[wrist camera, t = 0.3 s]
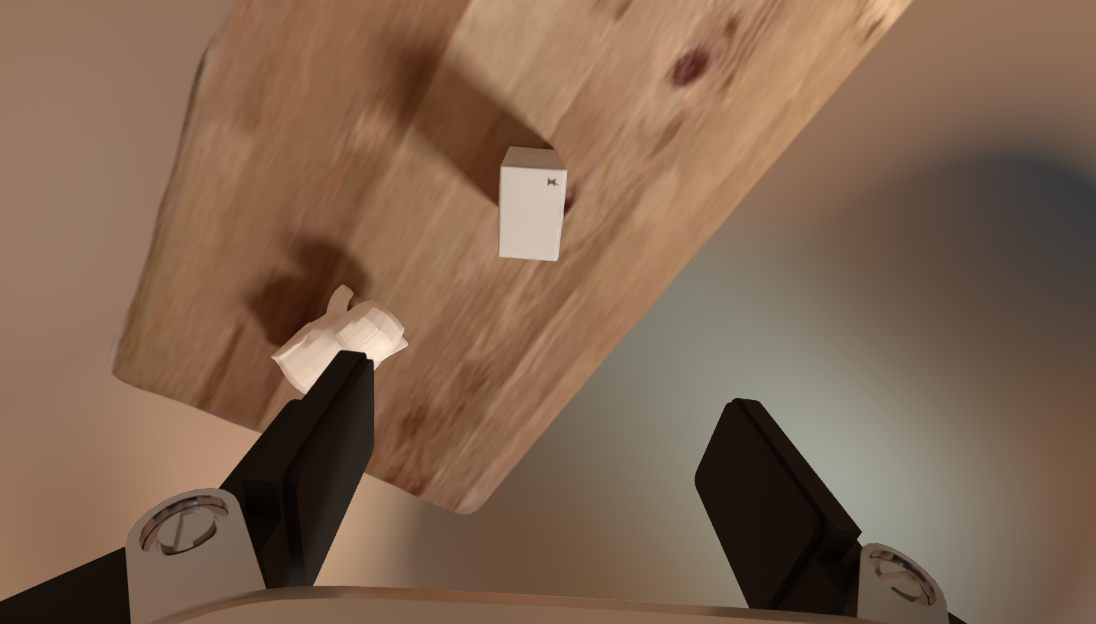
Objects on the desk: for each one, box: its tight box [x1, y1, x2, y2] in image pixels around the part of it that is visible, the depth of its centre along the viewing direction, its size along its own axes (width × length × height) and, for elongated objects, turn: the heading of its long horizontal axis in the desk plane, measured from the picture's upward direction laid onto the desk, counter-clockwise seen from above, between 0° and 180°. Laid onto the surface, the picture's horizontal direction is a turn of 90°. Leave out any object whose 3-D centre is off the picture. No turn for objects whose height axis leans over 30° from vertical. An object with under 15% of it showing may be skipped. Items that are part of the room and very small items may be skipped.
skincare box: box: [498, 146, 567, 261], centre depth 32 cm, size 6×4×12 cm
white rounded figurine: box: [271, 285, 408, 394], centre depth 40 cm, size 8×8×15 cm
